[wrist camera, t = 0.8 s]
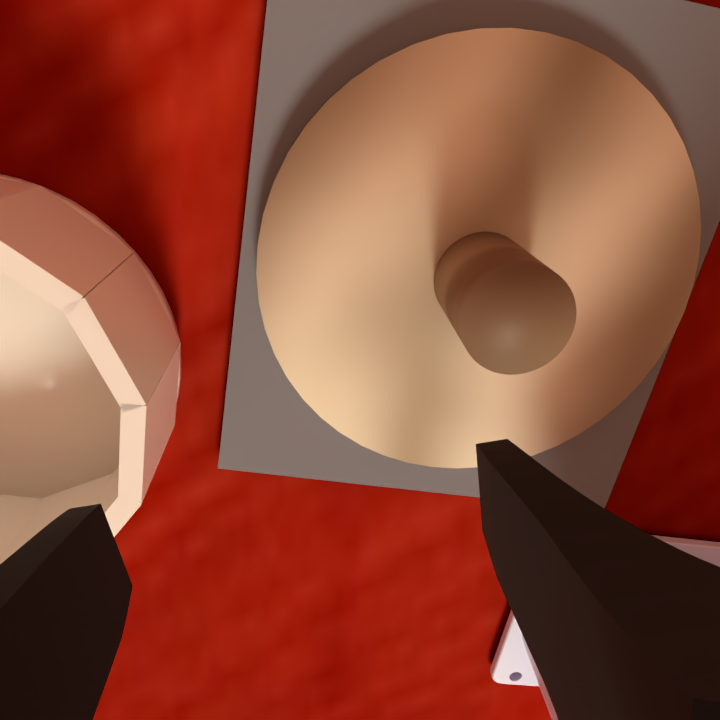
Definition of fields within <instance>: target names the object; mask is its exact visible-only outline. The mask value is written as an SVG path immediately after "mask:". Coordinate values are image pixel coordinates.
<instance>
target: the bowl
mask: <svg viewBox="0 0 720 720" xmlns="http://www.w3.org/2000/svg"><path fill="white" fill-rule="evenodd" d="M180 345H181V342H180V339H179V334H178V330H177V327H176V324H175V320H174V317H173V313H172V311H171V309H170V306H169V304H168V302H167V300H166V297H165V295H164V293H163V291H162V289H161V287H160V286H159V284H158V282H157V281H156V279H155V277H154V276H153V274H152V272H151V271H150V270H149V268H148V267H147V266H146V264H145V263H144V262H143V261H142V259H141V258H140V257H139V255H138V254H137V253H136V252H135V250H134V249H133V248H132V247H131V246H130V245H129V244H128V243H127V242H126V241H125V240H124V239H123V238H122V237H121V236H120V235H119V234H118V233H117V232H116V231H114V230H113V229H112V228H111V227H110V226H108V225H107V224H106V223H105V222H103V221H102V220H101V219H100V218H98V217H97V216H96V215H94V214H93V213H91V212H90V211H88V210H87V209H85V208H83V207H82V206H80V205H79V204H77V203H76V202H74V201H72V200H70V199H68V198H66V197H64V196H62V195H60V194H58V193H56V192H54V191H52V190H50V189H48V188H45V187H43V186H40V185H38V184H34V183H31V182H29V181H26V180H23V179H20V178H15V177H11V176H7V175H2V174H0V564H1V563H2V562H4V561H5V560H6V559H7V558H8V557H10V556H11V555H12V554H13V553H14V552H16V551H17V550H18V549H19V548H20V547H21V546H23V545H24V544H25V543H26V542H27V541H29V540H30V539H31V538H32V537H33V536H35V535H36V534H37V533H38V532H39V531H41V530H42V529H43V528H44V527H45V526H47V525H48V524H49V523H50V522H52V521H53V520H54V519H56V518H57V517H58V516H60V515H61V514H62V513H64V512H65V511H67V510H68V509H70V508H76V507H82V506H89V505H95V504H101V505H102V508H103V510H104V513H105V515H106V518H107V521H108V523H109V526H110V529H111V531H112V534H113V536H114V537H115V535H116V534H117V533H118V532H119V531H120V529H121V528H122V527H123V526H124V525H125V523H126V522H127V521H128V520H129V519H130V518H131V516H132V515H133V514H134V513H135V512H136V510H137V509H138V508H139V507H140V506H141V504H142V501H143V499H144V497H145V494H146V492H147V490H148V487H149V485H150V482H151V480H152V478H153V475H154V473H155V471H156V468H157V466H158V463H159V461H160V459H161V456H162V454H163V452H164V449H165V447H166V444H167V442H168V440H169V437H170V435H171V433H172V430H173V428H174V425H175V416H176V403H177V400H178V396H179V391H180V384H181V378H182V354H181V347H180Z"/></svg>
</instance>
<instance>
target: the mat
mask: <svg viewBox="0 0 720 720" xmlns="http://www.w3.org/2000/svg"><path fill="white" fill-rule="evenodd" d="M479 28H518V29H526V30H533V31H540V32H547V33H550V34H553V35H557V36H560V37H563V38H567V39H570V40H573V41H576V42H579V43H581V44H583V45H585V46H587V47H589V48H591V49H593V50H595V51H597V52H599V53H601V54H603V55H605V56H607V57H608V58H610V59H611V60H613V61H614V62H615V63H617V64H618V65H620V66H621V67H623V68H624V69H625V70H627V71H628V72H630V73H631V74H632V75H633V76H634V77H635V78H636V79H637V80H638V81H639V82H640V83H641V84H642V85H643V86H644V87H645V88H646V89H648V90H649V91H650V92H651V93H652V94H653V96H654V97H655V98H656V100H657V101H658V102H659V104H660V105H661V106H662V108H663V109H664V110H665V112H666V113H667V114H668V116H669V117H670V118H671V120H672V122H673V124H674V126H675V128H676V130H677V132H678V134H679V135H680V137H681V139H682V141H683V143H684V145H685V148H686V151H687V154H688V156H689V159H690V162H691V165H692V168H693V171H694V175H695V180H696V185H697V190H698V195H699V200H700V217H701V238H700V251H699V260H698V265H697V270H696V275H695V280H694V284H695V281H696V279H697V276H698V274H699V271H700V269H701V266H702V264H703V261H704V259H705V256H706V254H707V251H708V249H709V246H710V244H711V241H712V239H713V236H714V234H715V231H716V229H717V226H718V224H719V221H720V8H716V7H712V6H708V5H703V4H699V3H695V2H690V1H686V0H267V7H266V16H265V26H264V35H263V45H262V54H261V64H260V73H259V83H258V92H257V102H256V111H255V121H254V130H253V140H252V149H251V159H250V168H249V178H248V187H247V197H246V206H245V216H244V225H243V235H242V244H241V254H240V263H239V273H238V282H237V292H236V301H235V311H234V321H233V330H232V340H231V349H230V359H229V368H228V378H227V387H226V397H225V406H224V416H223V425H222V435H221V444H220V454H219V463H218V468H219V469H228V470H237V471H246V472H255V473H264V474H273V475H282V476H291V477H300V478H309V479H318V480H327V481H336V482H345V483H354V484H363V485H372V486H381V487H390V488H399V489H408V490H417V491H426V492H435V493H444V494H453V495H462V496H471V497H480V492H479V480H478V467H474V468H441V467H429V466H424V465H418V464H412V463H407V462H404V461H400V460H397V459H394V458H390V457H387V456H384V455H382V454H379V453H377V452H375V451H372V450H370V449H368V448H366V447H363V446H361V445H359V444H358V443H356V442H355V441H353V440H351V439H350V438H348V437H346V436H345V435H343V434H341V433H340V432H338V431H337V430H336V429H335V428H333V427H332V426H331V425H330V424H328V423H327V422H326V421H325V420H323V419H322V418H321V417H320V416H319V415H318V414H317V413H316V412H315V411H314V410H313V409H312V408H311V407H310V406H309V405H308V404H307V403H306V402H305V401H304V400H303V399H302V397H301V396H300V395H299V393H298V392H297V391H296V389H295V388H294V387H293V385H292V384H291V382H290V381H289V380H288V378H287V377H286V375H285V373H284V371H283V369H282V367H281V366H280V364H279V362H278V360H277V358H276V356H275V355H274V352H273V349H272V347H271V344H270V341H269V339H268V336H267V333H266V331H265V327H264V323H263V319H262V314H261V310H260V305H259V299H258V288H257V277H256V267H257V246H258V239H259V234H260V228H261V223H262V217H263V213H264V210H265V207H266V204H267V201H268V197H269V194H270V191H271V188H272V185H273V183H274V180H275V178H276V176H277V174H278V172H279V170H280V168H281V166H282V164H283V162H284V160H285V158H286V156H287V153H288V151H289V150H290V148H291V147H292V145H293V144H294V142H295V141H296V139H297V138H298V136H299V135H300V133H301V132H302V130H303V129H304V127H305V126H306V124H307V123H308V122H309V121H310V120H311V119H312V117H313V116H314V115H315V114H316V113H317V112H318V111H319V109H320V108H321V107H322V106H323V105H324V104H325V103H326V101H327V100H328V99H330V98H331V97H332V96H333V95H334V94H335V93H336V92H338V91H339V90H340V89H341V88H342V87H343V86H344V85H346V84H347V83H348V82H349V81H350V80H351V79H353V78H354V77H356V76H357V75H359V74H360V73H362V72H363V71H365V70H366V69H368V68H369V67H371V66H372V65H374V64H375V63H377V62H378V61H380V60H382V59H384V58H386V57H388V56H390V55H392V54H394V53H396V52H398V51H401V50H403V49H405V48H407V47H409V46H411V45H413V44H416V43H419V42H422V41H425V40H428V39H432V38H435V37H438V36H441V35H444V34H448V33H454V32H461V31H467V30H473V29H479ZM693 286H694V285H693ZM692 289H693V288H692ZM674 334H675V333H674ZM673 336H674V335H673ZM672 339H673V337H672ZM672 339H671V341H672ZM671 341H670V342H669V344H668V345H667V347H666V349H665V350H664V352H663V354H662V355H661V357H660V358H659V360H658V361H657V363H656V364H655V365H654V367H653V368H652V369H651V370H650V372H649V373H648V374H647V376H646V377H645V378H644V379H643V381H642V382H641V383H640V384H639V385H638V386H637V387H636V388H635V389H634V390H633V391H632V392H631V393H630V394H629V396H628V397H627V398H626V399H625V400H624V401H623V402H622V403H620V404H619V405H618V406H617V407H616V408H614V409H613V410H612V411H611V412H610V413H608V414H607V415H606V416H605V417H604V418H602V419H601V420H600V421H598V422H597V423H595V424H594V425H592V426H591V427H589V428H588V429H586V430H585V431H583V432H582V433H580V434H579V435H577V436H575V437H573V438H571V439H569V440H567V441H565V442H563V443H562V444H560V445H558V446H556V447H553V448H551V449H548V450H546V451H543V452H541V453H538V454H536V455H533V456H531V457H532V458H533V459H535V460H536V461H537V462H538V463H540V464H541V465H542V466H544V467H545V468H546V469H548V470H549V471H550V472H552V473H553V474H554V475H556V476H557V477H558V478H560V479H561V480H563V481H564V482H565V483H567V484H568V485H570V486H571V487H573V488H574V489H575V490H577V491H578V492H580V493H581V494H583V495H584V496H586V497H587V498H589V499H590V500H592V501H593V502H595V503H596V504H598V505H600V506H601V507H603V508H605V506H606V504H607V501H608V499H609V496H610V494H611V491H612V489H613V486H614V484H615V481H616V479H617V476H618V474H619V471H620V469H621V466H622V464H623V461H624V459H625V456H626V454H627V451H628V449H629V446H630V444H631V441H632V439H633V436H634V434H635V431H636V429H637V426H638V424H639V421H640V419H641V416H642V414H643V411H644V409H645V406H646V404H647V401H648V399H649V396H650V394H651V391H652V389H653V386H654V384H655V381H656V379H657V376H658V374H659V371H660V369H661V366H662V364H663V361H664V359H665V356H666V354H667V351H668V349H669V346H670V344H671Z"/></svg>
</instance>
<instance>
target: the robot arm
mask: <svg viewBox="0 0 720 720" xmlns="http://www.w3.org/2000/svg"><path fill="white" fill-rule="evenodd" d="M476 455H477V467H478V480H479V492H480V505H481V517H482V530H483V533H484V537H485V540H486V543H487V547H488V550H489V553H490V557H491V560H492V563H493V566H494V569H495V572H496V576H497V578H498V581H499V583H500V585H501V588H502V590H503V592H504V594H505V597H506V599H507V601H508V603H509V606H510V608H511V612H510V615H509V617H508V620H507V623H506V626H505V629H504V631H503V634H502V637H501V640H500V643H499V645H498V648H497V651H496V654H495V657H494V659H493V662H492V665H491V668H490V672H491V675H492V678H493V680H494V681H495V682H497V683H502V684H516V685H530V686H539V687H540V689H541V692H542V694H543V697H544V700H545V702H546V705H547V708H548V710H549V713H550V716H551V718H552V720H720V542H712V541H702V540H693V539H684V538H674V537H665V536H656V535H650V534H648V533H646V532H644V531H642V530H640V529H639V528H637V527H635V526H633V525H631V524H630V523H628V522H626V521H624V520H623V519H621V518H619V517H618V516H616V515H614V514H613V513H611V512H610V511H608V510H606V509H605V508H603V507H601V506H600V505H598V504H596V503H595V502H593V501H592V500H590V499H589V498H587V497H586V496H584V495H583V494H581V493H580V492H578V491H577V490H575V489H574V488H573V487H571V486H570V485H568V484H567V483H565V482H564V481H563V480H561V479H560V478H558V477H557V476H556V475H554V474H553V473H552V472H550V471H549V470H548V469H546V468H545V467H544V466H542V465H541V464H540V463H538V462H537V461H536V460H535V459H533V458H532V457H531V456H529V455H528V454H527V453H525V452H524V451H523V450H522V449H520V448H519V447H518V446H516V445H515V444H514V443H512V442H511V441H510V440H508V439H503V440H497V441H490V442H484V443H478V444H476ZM131 591H132V583H131V581H130V578H129V576H128V573H127V570H126V568H125V565H124V563H123V560H122V557H121V555H120V552H119V549H118V547H117V544H116V542H115V539H114V536H113V534H112V531H111V529H110V526H109V523H108V521H107V518H106V515H105V513H104V510H103V508H102V505H101V504H95V505H89V506H82V507H76V508H70V509H68V510H67V511H65V512H64V513H62V514H61V515H60V516H58V517H57V518H56V519H54V520H53V521H52V522H50V523H49V524H48V525H47V526H45V527H44V528H43V529H42V530H41V531H39V532H38V533H37V534H36V535H35V536H33V537H32V538H31V539H30V540H29V541H27V542H26V543H25V544H24V545H23V546H21V547H20V548H19V549H18V550H17V551H16V552H14V553H13V554H12V555H11V556H10V557H8V558H7V559H6V560H5V561H4V562H2V563H1V564H0V720H93V717H94V714H95V711H96V709H97V706H98V703H99V700H100V698H101V695H102V692H103V689H104V686H105V684H106V681H107V678H108V675H109V672H110V670H111V667H112V664H113V661H114V658H115V655H116V653H117V650H118V647H119V644H120V641H121V638H122V634H123V629H124V625H125V621H126V616H127V612H128V606H129V601H130V596H131ZM514 672H515V673H514Z"/></svg>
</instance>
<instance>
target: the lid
mask: <svg viewBox="0 0 720 720" xmlns="http://www.w3.org/2000/svg"><path fill="white" fill-rule="evenodd" d="M700 238H701V217H700V200H699V195H698V190H697V185H696V180H695V175H694V171H693V168H692V165H691V162H690V159H689V156H688V154H687V151H686V148H685V145H684V143H683V141H682V139H681V137H680V135H679V134H678V132H677V130H676V128H675V126H674V124H673V122H672V120H671V118H670V117H669V116H668V114H667V113H666V112H665V110H664V109H663V108H662V106H661V105H660V104H659V102H658V101H657V100H656V98H655V97H654V96H653V94H652V93H651V92H650V91H649V90H648V89H646V88H645V87H644V86H643V85H642V84H641V83H640V82H639V81H638V80H637V79H636V78H635V77H634V76H633V75H632V74H631V73H630V72H628V71H627V70H625V69H624V68H623V67H621V66H620V65H618V64H617V63H615V62H614V61H613V60H611V59H610V58H608V57H607V56H605V55H603V54H601V53H599V52H597V51H595V50H593V49H591V48H589V47H587V46H585V45H583V44H581V43H579V42H576V41H573V40H570V39H567V38H563V37H560V36H557V35H553V34H550V33H547V32H540V31H533V30H526V29H518V28H479V29H473V30H467V31H461V32H454V33H448V34H444V35H441V36H438V37H435V38H432V39H428V40H425V41H422V42H419V43H416V44H413V45H411V46H409V47H407V48H405V49H403V50H401V51H398V52H396V53H394V54H392V55H390V56H388V57H386V58H384V59H382V60H380V61H378V62H377V63H375V64H374V65H372V66H371V67H369V68H368V69H366V70H365V71H363V72H362V73H360V74H359V75H357V76H356V77H354V78H353V79H351V80H350V81H349V82H348V83H347V84H346V85H344V86H343V87H342V88H341V89H340V90H339V91H338V92H336V93H335V94H334V95H333V96H332V97H331V98H330V99H328V100H327V101H326V103H325V104H324V105H323V106H322V107H321V108H320V109H319V111H318V112H317V113H316V114H315V115H314V116H313V117H312V119H311V120H310V121H309V122H308V123H307V124H306V126H305V127H304V129H303V130H302V132H301V133H300V135H299V136H298V138H297V139H296V141H295V142H294V144H293V145H292V147H291V148H290V150H289V151H288V153H287V156H286V158H285V160H284V162H283V164H282V166H281V168H280V170H279V172H278V174H277V176H276V178H275V180H274V183H273V185H272V188H271V191H270V194H269V197H268V201H267V204H266V207H265V210H264V213H263V217H262V223H261V228H260V234H259V239H258V246H257V267H256V277H257V288H258V299H259V305H260V310H261V314H262V319H263V323H264V327H265V331H266V333H267V336H268V339H269V341H270V344H271V347H272V349H273V352H274V355H275V356H276V358H277V360H278V362H279V364H280V366H281V367H282V369H283V371H284V373H285V375H286V377H287V378H288V380H289V381H290V382H291V384H292V385H293V387H294V388H295V389H296V391H297V392H298V393H299V395H300V396H301V397H302V399H303V400H304V401H305V402H306V403H307V404H308V405H309V406H310V407H311V408H312V409H313V410H314V411H315V412H316V413H317V414H318V415H319V416H320V417H321V418H322V419H323V420H325V421H326V422H327V423H328V424H330V425H331V426H332V427H333V428H335V429H336V430H337V431H338V432H340V433H341V434H343V435H345V436H346V437H348V438H350V439H351V440H353V441H355V442H356V443H358V444H359V445H361V446H363V447H366V448H368V449H370V450H372V451H375V452H377V453H379V454H382V455H384V456H387V457H390V458H394V459H397V460H400V461H404V462H407V463H412V464H418V465H424V466H429V467H441V468H474V467H477V455H476V444H478V443H484V442H490V441H497V440H503V439H508V440H510V441H511V442H512V443H514V444H515V445H516V446H518V447H519V448H520V449H522V450H523V451H524V452H525V453H527V454H528V455H529V456H533V455H536V454H538V453H541V452H543V451H546V450H548V449H551V448H553V447H556V446H558V445H560V444H562V443H563V442H565V441H567V440H569V439H571V438H573V437H575V436H577V435H579V434H580V433H582V432H583V431H585V430H586V429H588V428H589V427H591V426H592V425H594V424H595V423H597V422H598V421H600V420H601V419H602V418H604V417H605V416H606V415H607V414H608V413H610V412H611V411H612V410H613V409H614V408H616V407H617V406H618V405H619V404H620V403H622V402H623V401H624V400H625V399H626V398H627V397H628V396H629V394H630V393H631V392H632V391H633V390H634V389H635V388H636V387H637V386H638V385H639V384H640V383H641V382H642V381H643V379H644V378H645V377H646V376H647V374H648V373H649V372H650V370H651V369H652V368H653V367H654V365H655V364H656V363H657V361H658V360H659V358H660V357H661V355H662V354H663V352H664V350H665V349H666V347H667V345H668V344H669V342H670V341H671V339H672V337H673V335H674V333H675V331H676V329H677V327H678V325H679V322H680V320H681V318H682V316H683V314H684V312H685V309H686V306H687V303H688V300H689V297H690V294H691V291H692V288H693V285H694V280H695V275H696V270H697V265H698V260H699V251H700Z"/></svg>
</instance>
